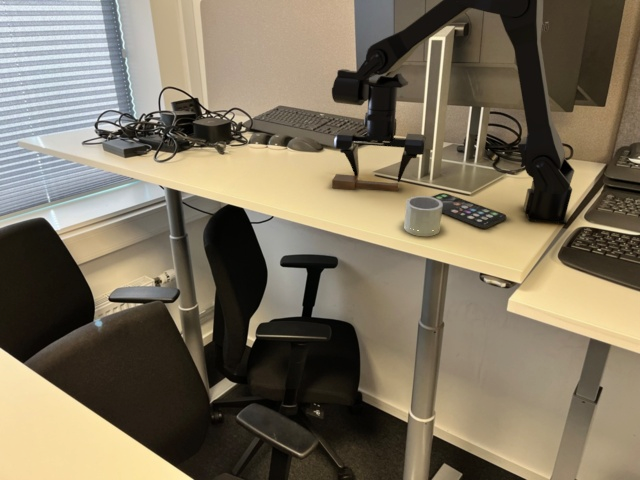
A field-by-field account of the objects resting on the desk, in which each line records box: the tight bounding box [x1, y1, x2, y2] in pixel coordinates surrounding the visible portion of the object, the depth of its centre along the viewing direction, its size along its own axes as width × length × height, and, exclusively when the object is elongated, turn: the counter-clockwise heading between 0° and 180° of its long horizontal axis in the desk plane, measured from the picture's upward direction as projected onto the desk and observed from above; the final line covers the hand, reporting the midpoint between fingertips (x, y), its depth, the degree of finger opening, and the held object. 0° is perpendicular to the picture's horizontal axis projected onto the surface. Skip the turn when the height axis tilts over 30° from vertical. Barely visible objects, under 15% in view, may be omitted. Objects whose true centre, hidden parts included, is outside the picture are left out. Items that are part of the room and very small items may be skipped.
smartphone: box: [431, 192, 507, 229], centre depth 89 cm, size 7×1×15 cm
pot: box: [403, 195, 443, 237], centre depth 82 cm, size 6×6×5 cm
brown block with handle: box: [331, 173, 400, 192], centre depth 101 cm, size 14×4×2 cm, turn 76°
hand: (377, 179), depth 103 cm, fingers open, 9 cm apart
